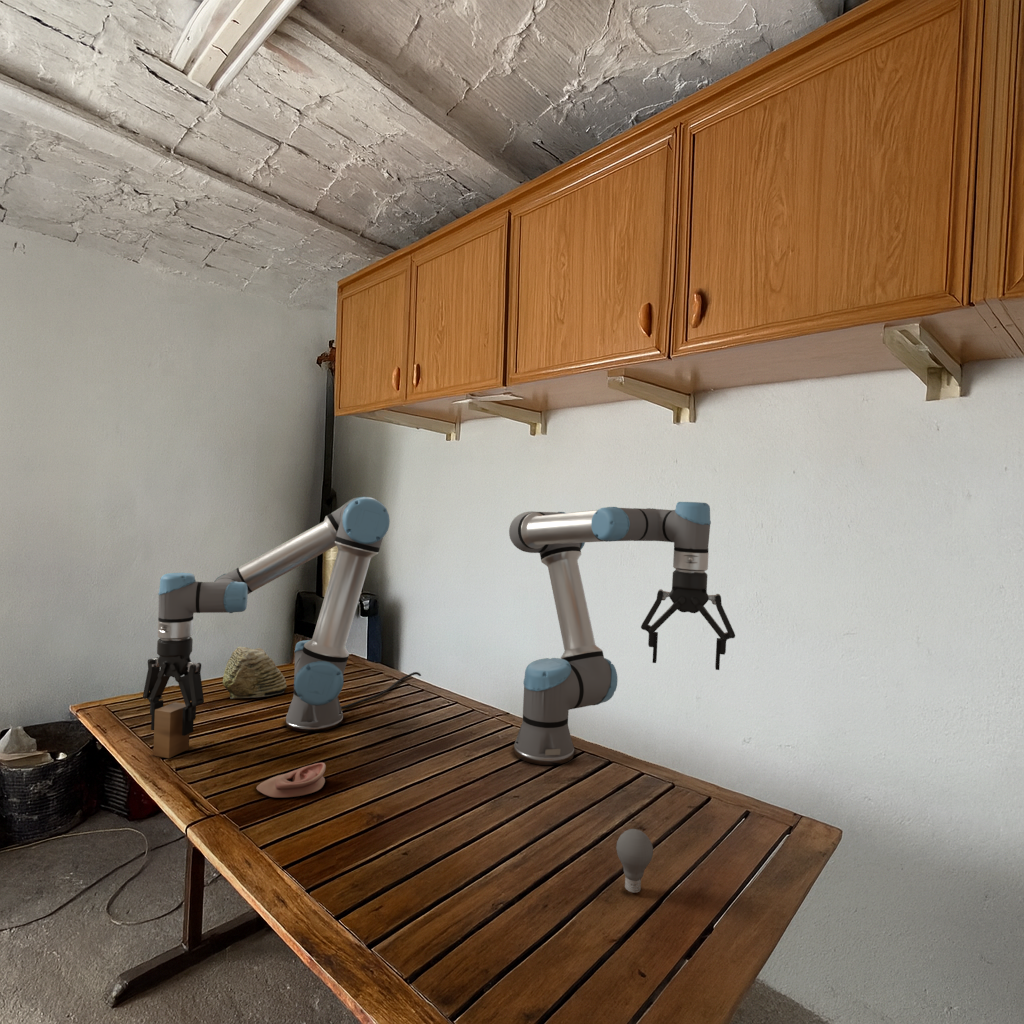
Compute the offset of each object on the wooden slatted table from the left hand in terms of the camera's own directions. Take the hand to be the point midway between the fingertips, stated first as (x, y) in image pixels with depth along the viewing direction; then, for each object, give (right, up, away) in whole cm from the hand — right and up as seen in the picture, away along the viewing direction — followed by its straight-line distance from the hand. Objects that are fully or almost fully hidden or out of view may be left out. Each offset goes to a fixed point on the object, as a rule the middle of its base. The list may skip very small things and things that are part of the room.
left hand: (172, 730), depth 153 cm
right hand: (+121, +18, -11) cm, 123 cm away
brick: (0, -5, 0) cm, 5 cm away
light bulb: (+102, -11, -47) cm, 113 cm away
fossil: (+2, -4, +45) cm, 45 cm away
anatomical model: (+34, -7, -15) cm, 38 cm away
